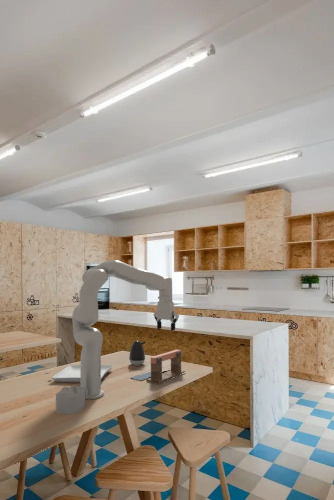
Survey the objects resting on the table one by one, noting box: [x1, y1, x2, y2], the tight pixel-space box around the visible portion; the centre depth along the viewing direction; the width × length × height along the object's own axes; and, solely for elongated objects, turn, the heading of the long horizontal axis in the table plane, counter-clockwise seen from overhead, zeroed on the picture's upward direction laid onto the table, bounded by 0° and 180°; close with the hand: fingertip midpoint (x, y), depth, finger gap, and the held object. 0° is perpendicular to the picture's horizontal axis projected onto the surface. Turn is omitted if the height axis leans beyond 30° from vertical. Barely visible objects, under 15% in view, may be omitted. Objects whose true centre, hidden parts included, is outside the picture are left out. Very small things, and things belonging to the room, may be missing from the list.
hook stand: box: [146, 350, 186, 385], centre depth 189 cm, size 25×8×13 cm, turn 143°
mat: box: [130, 371, 151, 382], centre depth 195 cm, size 27×8×1 cm, turn 143°
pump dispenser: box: [128, 340, 146, 366], centre depth 217 cm, size 10×10×15 cm
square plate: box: [51, 364, 114, 383], centre depth 191 cm, size 27×27×4 cm
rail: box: [150, 349, 182, 364], centre depth 189 cm, size 24×3×3 cm, turn 143°
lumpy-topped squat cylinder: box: [55, 384, 86, 416], centre depth 146 cm, size 10×13×9 cm
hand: (166, 329), depth 191 cm, fingers open, 9 cm apart
